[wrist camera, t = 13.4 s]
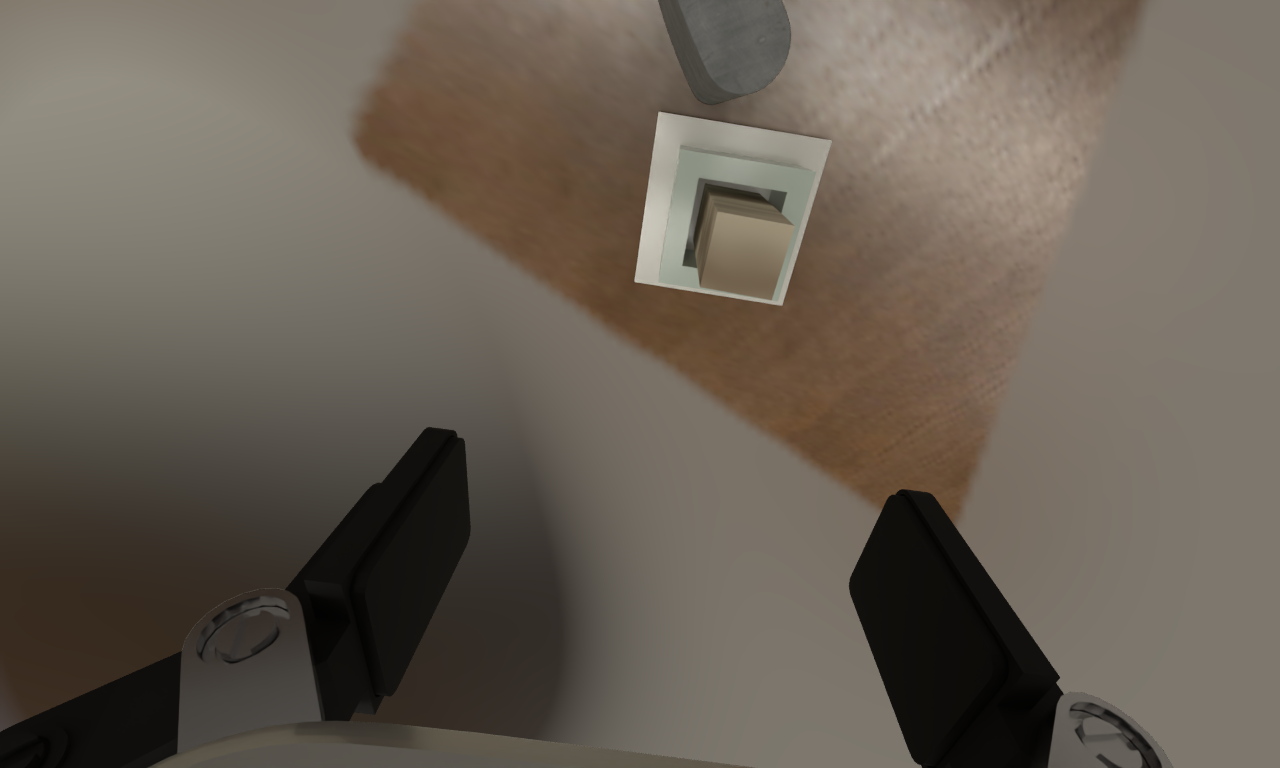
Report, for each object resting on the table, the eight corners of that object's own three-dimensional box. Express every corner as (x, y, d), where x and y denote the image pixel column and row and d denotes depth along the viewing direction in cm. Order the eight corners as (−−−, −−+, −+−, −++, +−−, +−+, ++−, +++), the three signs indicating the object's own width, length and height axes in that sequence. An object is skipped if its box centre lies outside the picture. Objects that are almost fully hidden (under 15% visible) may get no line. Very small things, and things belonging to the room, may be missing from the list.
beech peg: (704, 183, 35) (717, 211, 25) (759, 193, 35) (794, 225, 25) (692, 238, 37) (700, 287, 27) (744, 248, 37) (771, 300, 27)
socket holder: (659, 111, 34) (656, 110, 29) (827, 139, 34) (855, 143, 29) (635, 278, 40) (629, 302, 35) (779, 301, 40) (795, 329, 35)
